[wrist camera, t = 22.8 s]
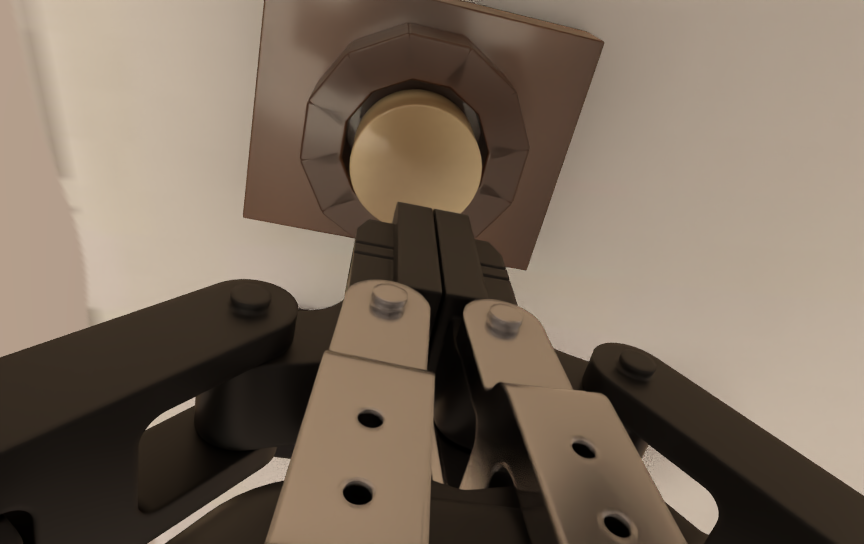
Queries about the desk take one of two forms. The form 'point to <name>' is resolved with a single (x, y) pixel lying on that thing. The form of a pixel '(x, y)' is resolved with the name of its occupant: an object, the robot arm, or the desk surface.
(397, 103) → the button
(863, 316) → the desk surface
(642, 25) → the desk surface
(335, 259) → the desk surface
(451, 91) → the button block
